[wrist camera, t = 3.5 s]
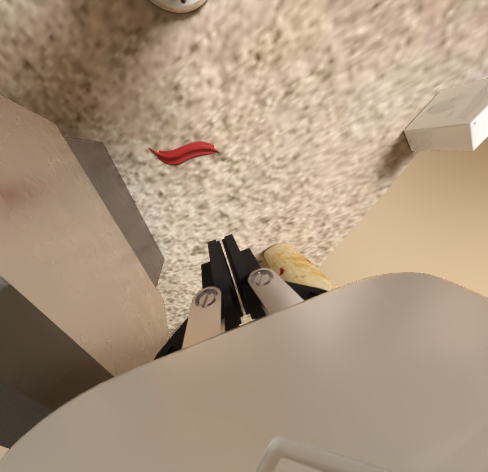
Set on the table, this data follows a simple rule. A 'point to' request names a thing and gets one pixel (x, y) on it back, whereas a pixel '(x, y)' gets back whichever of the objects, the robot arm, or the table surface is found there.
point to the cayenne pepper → (185, 152)
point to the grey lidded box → (118, 202)
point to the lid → (62, 280)
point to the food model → (296, 267)
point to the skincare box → (452, 120)
